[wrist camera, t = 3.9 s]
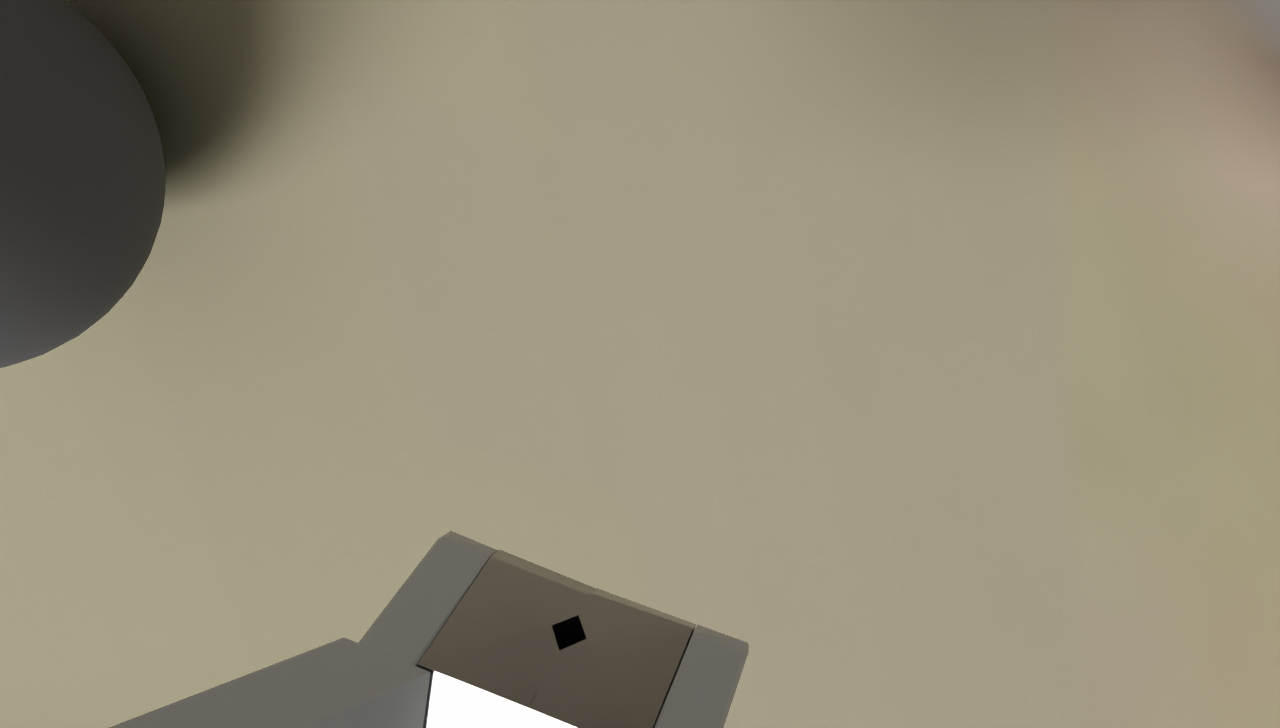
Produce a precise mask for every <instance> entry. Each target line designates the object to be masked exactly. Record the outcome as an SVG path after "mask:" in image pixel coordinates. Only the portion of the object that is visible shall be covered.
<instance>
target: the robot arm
mask: <svg viewBox="0 0 1280 728" xmlns="http://www.w3.org/2000/svg"><path fill="white" fill-rule="evenodd" d="M695 627H696V624H693V623H690V622H688V621H685V620H682V619H680V618H677V617H674V616H671V615H669V614H666V613H663V612H660V611H658V610H655V609H652V608H650V607H647V606H644V605H641V604H639V603H636V602H633V601H630V600H628V599H625V598H622V597H619V596H617V595H614V594H611V593H609V592H606V591H603V590H600V589H598V588H593V587H591V586H588V585H586V584H583V583H581V582H579V581H576V580H574V579H571V578H569V577H566V576H564V575H561V574H559V573H556V572H554V571H551V570H549V569H546V568H544V567H541V566H539V565H536V564H534V563H532V562H529V561H527V560H524V559H522V558H519V557H517V556H514V555H512V554H509V553H507V552H504V551H502V550H499V551H498V550H496V549H493V548H491V547H489V546H486V545H484V544H481V543H479V542H476V541H474V540H472V539H469V538H467V537H464V536H462V535H459V534H457V533H455V532H452V531H450V532H448V533H447V534H445V535H444V536H442V537H441V538H439V539H438V540H437V541H436V542H435V544H434V545H433V546H432V548H431V549H430V550H429V551H428V553H427V554H426V555H425V557H424V558H423V559H422V561H421V562H420V563H419V564H418V566H417V567H416V568H415V570H414V571H413V572H412V574H411V575H410V576H409V577H408V579H407V580H406V581H405V583H404V584H403V585H402V587H401V588H400V589H399V591H398V592H397V593H396V594H395V596H394V597H393V598H392V600H391V601H390V602H389V604H388V605H387V606H386V607H385V609H384V610H383V611H382V613H381V614H380V615H379V617H378V618H377V619H376V620H375V622H374V623H373V624H372V626H371V627H370V628H369V630H368V631H367V632H366V634H365V635H364V636H363V637H362V639H361V640H360V641H359V643H357V642H354V641H352V640H349V639H346V638H341V639H339V640H336V641H333V642H331V643H328V644H326V645H323V646H320V647H318V648H315V649H313V650H310V651H307V652H305V653H302V654H300V655H297V656H294V657H292V658H289V659H287V660H284V661H281V662H279V663H276V664H274V665H271V666H268V667H266V668H263V669H261V670H258V671H255V672H253V673H250V674H248V675H245V676H242V677H240V678H237V679H235V680H232V681H229V682H227V683H224V684H222V685H219V686H216V687H214V688H211V689H209V690H206V691H203V692H201V693H198V694H196V695H193V696H190V697H188V698H185V699H183V700H180V701H177V702H175V703H172V704H170V705H167V706H164V707H162V708H159V709H157V710H154V711H151V712H149V713H146V714H144V715H141V716H138V717H136V718H133V719H131V720H128V721H125V722H123V723H120V724H118V725H115V726H112V727H110V728H723V727H724V724H725V721H726V718H727V715H728V712H729V709H730V706H731V703H732V700H733V697H734V694H735V691H736V688H737V685H738V682H739V679H740V676H741V673H742V670H743V667H744V664H745V661H746V658H747V655H748V652H749V645H748V643H747V642H744V641H741V640H739V639H736V638H733V637H730V636H728V635H725V634H722V633H719V632H716V631H714V630H711V629H708V628H705V627H703V626H700V625H697V627H696V628H695Z"/></svg>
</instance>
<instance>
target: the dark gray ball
mask: <svg viewBox="0 0 1280 728" xmlns="http://www.w3.org/2000/svg"><path fill="white" fill-rule="evenodd" d="M165 177H166V172H165V162H164V153H163V148H162V143H161V139H160V134H159V130H158V127H157V124H156V121H155V118H154V115H153V112H152V109H151V107H150V104H149V102H148V100H147V98H146V95H145V93H144V91H143V89H142V88H141V86H140V84H139V82H138V80H137V78H136V77H135V75H134V74H133V72H132V71H131V69H130V68H129V66H128V65H127V63H126V62H125V60H124V59H123V58H122V56H121V55H120V54H119V53H118V52H117V50H116V49H115V48H114V47H113V45H112V44H111V43H110V42H109V41H108V39H107V38H106V37H105V36H104V35H103V34H102V33H101V32H100V31H99V30H98V29H97V28H96V27H95V26H94V25H93V24H92V23H91V22H90V21H89V20H88V19H86V18H85V17H84V16H83V15H82V14H81V13H79V12H78V11H77V10H76V9H75V8H73V7H72V6H70V5H69V4H67V3H66V2H64V1H63V0H0V368H2V367H6V366H10V365H13V364H16V363H19V362H22V361H25V360H28V359H31V358H34V357H37V356H40V355H43V354H45V353H47V352H49V351H51V350H52V349H54V348H56V347H58V346H60V345H62V344H64V343H66V342H68V341H69V340H71V339H73V338H75V337H77V336H79V335H80V334H81V333H83V332H84V331H85V330H87V329H88V328H89V327H90V326H92V325H93V324H94V323H96V322H97V321H98V320H99V319H100V318H102V317H103V316H104V315H105V314H106V313H108V312H109V311H110V310H111V309H112V307H113V306H114V305H115V304H116V303H117V302H118V301H119V300H120V299H121V298H122V296H123V295H124V294H125V293H126V292H127V290H128V289H129V288H130V287H131V285H132V284H133V282H134V281H135V279H136V278H137V276H138V274H139V273H140V271H141V270H142V268H143V266H144V264H145V262H146V260H147V258H148V257H149V255H150V252H151V249H152V247H153V244H154V241H155V238H156V235H157V232H158V229H159V226H160V223H161V218H162V212H163V206H164V197H165Z"/></svg>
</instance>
